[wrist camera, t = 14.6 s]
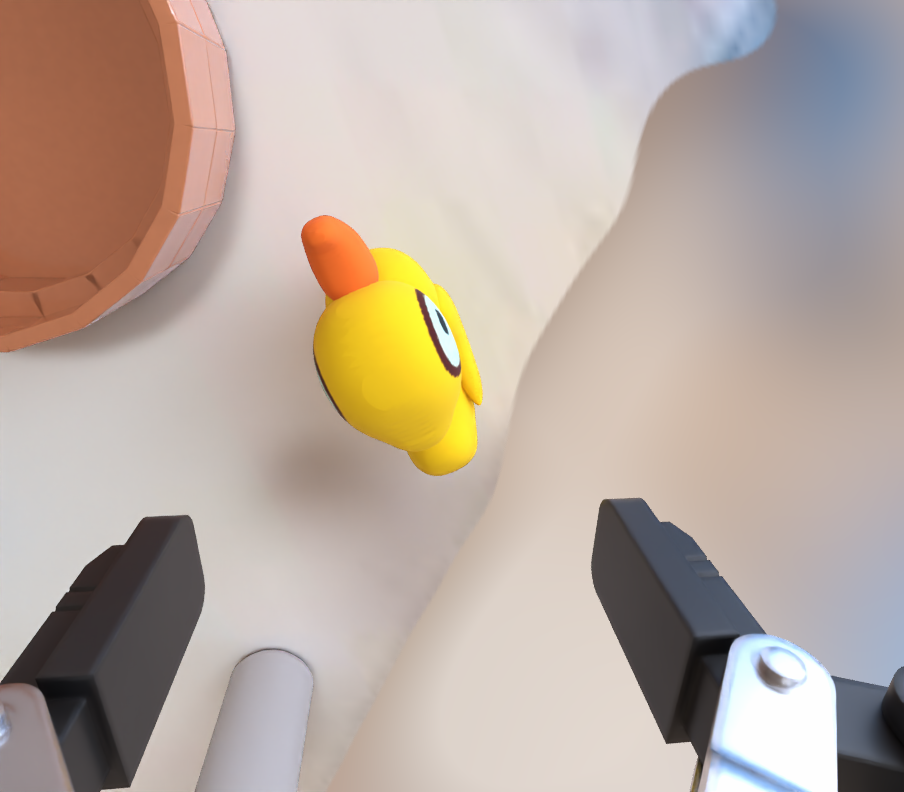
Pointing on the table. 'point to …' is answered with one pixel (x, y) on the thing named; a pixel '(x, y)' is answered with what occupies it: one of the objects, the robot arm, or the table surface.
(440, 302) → the duckling
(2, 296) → the bowl
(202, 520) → the table surface
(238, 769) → the beverage can
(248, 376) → the table surface
